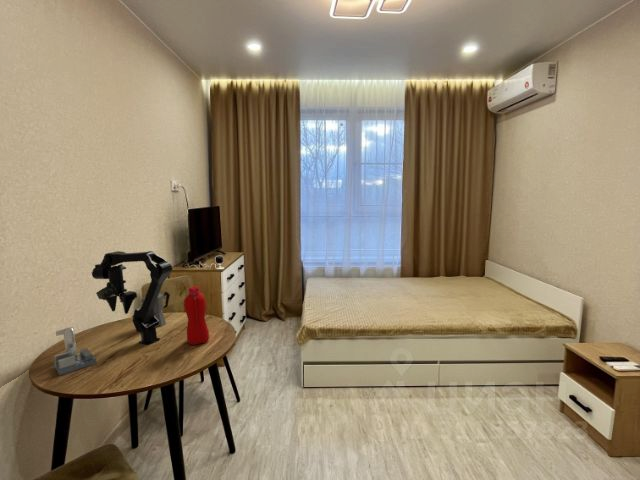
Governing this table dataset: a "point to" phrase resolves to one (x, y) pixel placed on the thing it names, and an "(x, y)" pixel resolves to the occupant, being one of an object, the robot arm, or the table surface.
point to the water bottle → (196, 317)
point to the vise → (73, 361)
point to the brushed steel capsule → (69, 340)
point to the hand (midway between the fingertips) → (120, 312)
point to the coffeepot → (160, 308)
